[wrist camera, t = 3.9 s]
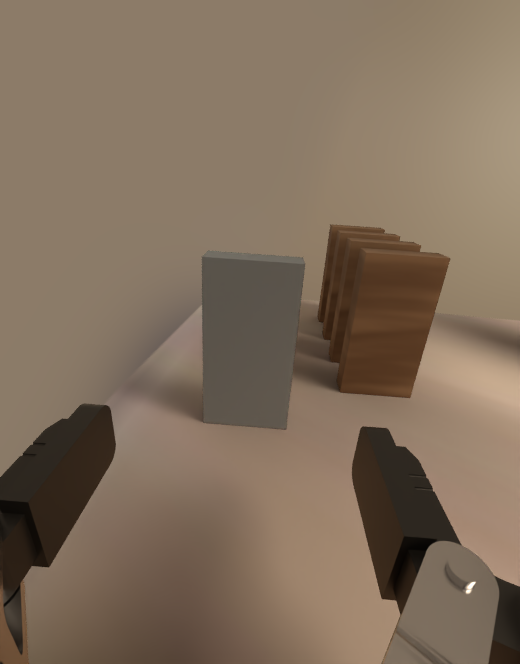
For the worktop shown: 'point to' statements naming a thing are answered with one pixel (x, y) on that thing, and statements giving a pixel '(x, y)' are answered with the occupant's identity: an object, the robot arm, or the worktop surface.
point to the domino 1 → (249, 336)
